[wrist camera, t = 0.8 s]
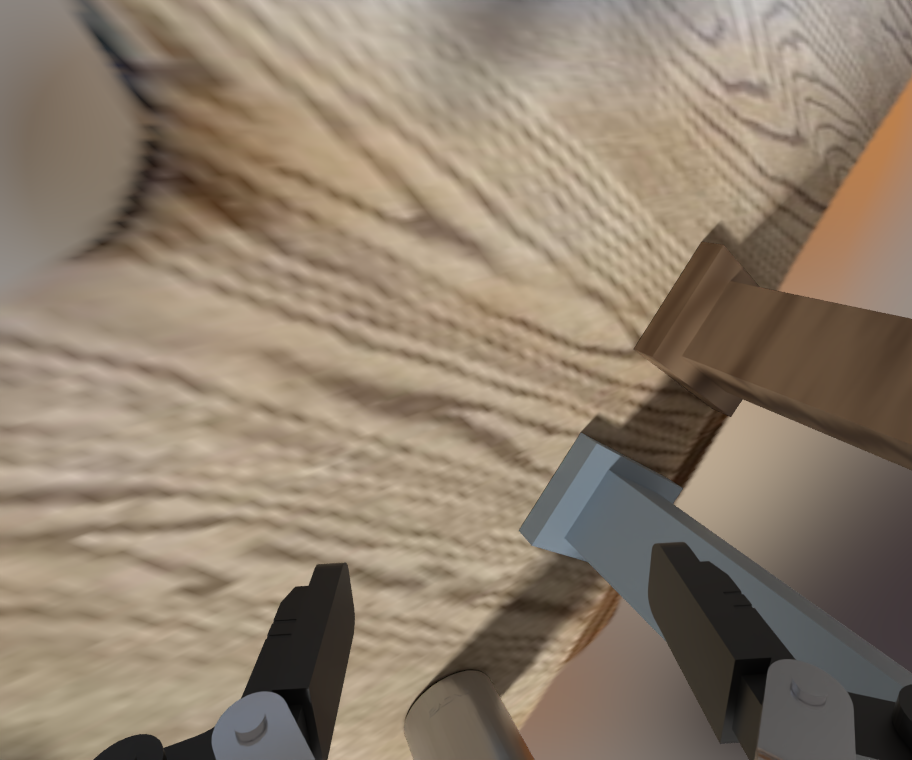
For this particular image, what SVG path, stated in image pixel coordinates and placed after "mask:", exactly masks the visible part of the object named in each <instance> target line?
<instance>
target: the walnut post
mask: <svg viewBox="0 0 912 760" xmlns="http://www.w3.org/2000/svg"><path fill="white" fill-rule="evenodd" d="M634 350H635V351H637V352H638V353H639V354H641V355H642V356H643V357H645V358H646V359H647V360H649V361H650V362H651V363H653V364H654V365H655V366H657V367H658V368H659V369H661V370H662V371H663V372H665V373H666V374H667V375H669V376H670V377H671V378H673V379H674V380H675V381H677V382H678V383H679V384H681V385H682V386H683V387H685V388H686V389H687V390H689V391H690V392H691V393H693V394H694V395H695V396H697V397H698V398H699V399H700V400H702V401H703V402H704V403H706V404H707V405H708V406H710V407H711V408H712V409H715V410H717V411H719V412H721V413H723V414H725V415H727V416H730V417H731V416H732V414H733V413H734V411H735V410H736V409H737V407H738V406H739V404H740V403H741V401H742V400H743V399H744V400H746V401H749V402H751V403H753V404H755V405H758V406H760V407H763V408H765V409H767V410H770V411H772V412H775V413H777V414H779V415H782V416H784V417H786V418H789V419H791V420H794V421H796V422H798V423H801V424H803V425H805V426H808V427H810V428H812V429H815V430H817V431H820V432H822V433H824V434H827V435H829V436H831V437H834V438H836V439H838V440H841V441H843V442H846V443H848V444H850V445H853V446H855V447H857V448H860V449H862V450H864V451H867V452H869V453H872V454H874V455H876V456H879V457H881V458H883V459H886V460H888V461H891V462H893V463H896V464H898V465H900V466H902V467H905V468H907V469H909V470H912V319H910V318H905V317H900V316H896V315H890V314H886V313H881V312H876V311H871V310H867V309H862V308H857V307H852V306H847V305H842V304H838V303H833V302H828V301H823V300H819V299H814V298H809V297H804V296H799V295H794V294H789V293H785V292H780V291H775V290H770V289H766V288H761V287H759V286H758V284H757V283H756V282H755V281H754V280H753V279H752V277H751V276H750V275H749V274H748V273H747V272H746V270H745V269H744V268H743V267H742V266H741V264H740V263H739V262H738V261H737V260H736V259H735V257H734V256H733V255H732V254H731V253H730V251H729V250H728V249H727V248H726V247H725V246H724V245H721V244H714V243H707V242H701V244H700V246H699V247H698V249H697V250H696V252H695V253H694V255H693V257H692V258H691V260H690V261H689V263H688V264H687V266H686V268H685V269H684V271H683V272H682V274H681V276H680V277H679V279H678V280H677V282H676V283H675V285H674V287H673V288H672V290H671V291H670V293H669V294H668V296H667V298H666V299H665V301H664V302H663V304H662V306H661V307H660V309H659V310H658V312H657V313H656V315H655V317H654V318H653V320H652V321H651V323H650V324H649V326H648V328H647V329H646V331H645V332H644V334H643V336H642V337H641V339H640V340H639V342H638V343H637V345H636V347H635V348H634Z"/></svg>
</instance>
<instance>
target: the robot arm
mask: <svg viewBox="0 0 912 760" xmlns="http://www.w3.org/2000/svg"><path fill="white" fill-rule="evenodd" d="M648 600H649V605H650V609H651V612H652V615H653V617H654V619H655V621H656V623H657V625H658V627H659V628H660V630H661V632H662V634H663V636H664V638H665V640H666V642H667V644H668V646H669V647H670V649H671V651H672V653H673V655H674V657H675V659H676V661H677V663H678V665H679V666H680V668H681V670H682V672H683V674H684V676H685V678H686V680H687V681H688V684H689V686H690V687H691V689H692V691H693V693H694V695H695V697H696V699H697V700H698V703H699V705H700V706H701V708H702V710H703V712H704V714H705V716H706V718H707V720H708V722H709V723H710V725H711V727H712V729H713V731H714V733H715V735H716V737H717V739H718V740H719V742H720V744H724V743H740V744H741V746H742V748H743V750H744V751H745V753H746V755H747V757H748V759H749V760H912V684H910V685H907V686H905V687H903V688H902V689H901V690H900V692H899V694H898V697H897V700H896V702H893V701H888V700H883V699H879V698H874V697H869V696H865V695H860V694H855V693H851V692H847V691H846V690H845V689H844V687H843V686H842V685H841V684H840V683H839V682H838V681H837V680H836V679H835V678H833V677H832V676H831V675H829V674H828V673H826V672H825V671H823V670H822V669H820V668H818V667H816V666H814V665H811V664H809V663H806V662H803V661H799V660H796V659H795V658H794V657H793V655H792V654H791V653H790V652H789V650H788V649H787V648H786V647H785V645H784V644H783V643H782V642H781V640H780V639H779V638H778V637H777V635H776V634H775V633H774V632H773V630H772V629H771V628H770V627H769V625H768V624H767V623H766V622H765V620H764V619H763V618H762V616H761V615H760V614H759V613H758V611H757V610H756V609H755V608H753V607H752V604H751V603H750V601H749V600H748V599H747V598H746V596H745V595H744V594H742V593H741V590H740V589H739V588H738V586H737V585H736V584H735V582H734V581H733V580H732V579H731V577H730V576H729V575H728V574H727V573H725V572H724V571H722V570H721V569H720V568H718V567H717V566H715V565H714V564H713V563H711V562H710V561H701V562H700V561H699V559H698V558H697V557H696V555H695V554H694V552H693V551H692V550H691V548H690V547H689V546H688V545H687V544H686V543H685V542H671V543H655V544H654V545H653V547H652V551H651V562H650V572H649V582H648ZM354 625H355V613H354V604H353V597H352V590H351V583H350V576H349V570H348V565H347V563H331V564H318V565H316V567H315V569H314V572H313V575H312V578H311V581H310V583H309V586H299V587H295V588H294V589H293V590H292V591H291V592H290V593H289V594H288V595H287V596H286V597H285V599H284V600H283V601H282V602H281V603H280V606H279V608H278V611H277V613H276V616H275V618H274V623H273V624H272V625H271V628H270V630H269V632H268V635H267V639H266V640H265V642H264V645H263V647H262V649H261V652H260V654H259V657H258V659H257V662H256V664H255V666H254V669H253V671H252V674H251V676H250V678H249V681H248V683H247V686H246V688H245V691H244V693H243V695H242V697H241V699H240V700H238V701H237V702H235V703H234V704H233V705H231V706H230V707H229V708H228V709H227V710H226V711H225V712H224V713H223V714H222V716H221V717H220V718H219V720H218V722H217V724H216V725H215V727H213V728H212V729H210V730H208V731H206V732H205V733H202V734H200V735H198V736H195V737H193V738H190V739H187V740H184V741H182V742H179V743H176V744H173V745H171V746H168V747H165V748H163V746H162V743H161V742H160V740H159V739H157V738H156V737H154V736H152V735H147V734H139V735H134V736H131V737H128V738H125V739H123V740H120V741H118V742H117V743H115V744H113V745H111V746H110V747H108V748H107V749H106V750H104V751H103V752H102V753H100V754H99V755H98V756H97V757H96V758H95V759H94V760H327V759H328V755H329V750H330V745H331V740H332V735H333V731H334V726H335V721H336V716H337V712H338V707H339V702H340V697H341V692H342V688H343V683H344V678H345V673H346V668H347V664H348V659H349V654H350V649H351V645H352V640H353V635H354ZM404 734H405V737H406V740H407V743H408V746H409V748H410V751H411V754H412V757H413V760H535V759H534V757H533V756H532V754H531V752H530V750H529V748H528V747H527V745H526V743H525V741H524V739H523V738H522V736H521V734H520V732H519V730H518V729H517V727H516V725H515V723H514V722H513V720H512V718H511V716H510V714H509V712H508V711H507V709H506V707H505V705H504V703H503V702H502V700H501V698H500V696H499V695H498V693H497V691H496V689H495V688H494V686H493V684H492V682H491V680H490V679H489V677H488V676H487V675H485V674H484V673H483V672H479V671H463V672H459V673H456V674H453V675H450V676H448V677H446V678H444V679H442V680H440V681H439V682H437V683H436V684H434V685H433V686H431V687H430V688H429V689H428V690H427V691H426V692H424V693H423V694H422V695H421V696H420V698H419V699H418V700H417V701H416V702H415V703H414V705H413V706H412V708H411V709H410V711H409V713H408V715H407V717H406V720H405V724H404Z"/></svg>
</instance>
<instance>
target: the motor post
mask: <svg viewBox="0 0 912 760" xmlns="http://www.w3.org/2000/svg"><path fill="white" fill-rule="evenodd" d="M682 489H683V488H682V487H680V486H679V485H677V484H676V483H674V482H673V481H671V480H669V479H668V478H666V477H664V476H663V475H661V474H659V473H657V472H655V471H653V470H651V469H649V468H647V467H646V466H644V465H642V464H640V463H638V462H636V461H634V460H632V459H630V458H628V457H627V456H625V455H623V454H621V453H619V452H617V451H615V450H613V449H611V448H609V447H608V446H606V445H604V444H602V443H600V442H598V441H596V440H594V439H592V438H591V437H589V436H587V435H585V434H583V433H580V435H579V437H578V438H577V440H576V441H575V443H574V444H573V446H572V448H571V449H570V451H569V452H568V454H567V456H566V457H565V459H564V460H563V462H562V463H561V465H560V467H559V468H558V470H557V471H556V473H555V474H554V476H553V478H552V479H551V481H550V482H549V484H548V486H547V487H546V489H545V490H544V492H543V493H542V495H541V497H540V498H539V500H538V501H537V503H536V504H535V506H534V508H533V509H532V511H531V512H530V514H529V516H528V517H527V519H526V520H525V522H524V523H523V525H522V527H521V528H520V530H519V531H520V533H521V534H522V535H523V536H524V537H525V538H526V539H527V540H528V542H529V543H530V544H531V545H532V546H535V547H539V548H542V549H546V550H549V551H552V552H556V553H559V554H563V555H566V556H569V557H573V558H576V559H580V560H583V561H586V562H588V563H589V564H590V565H591V566H592V567H593V568H594V569H595V570H596V571H597V572H598V573H599V574H600V575H601V576H602V577H603V578H604V579H605V580H606V581H607V582H608V583H609V584H610V585H611V586H612V587H613V588H614V589H615V590H616V591H617V592H618V593H619V594H620V595H621V596H622V597H623V598H624V599H625V600H626V601H627V602H628V603H629V604H630V605H631V606H632V607H633V608H634V609H635V610H636V611H637V612H638V613H639V615H640V616H641V617H643V618H644V620H645V621H646V622H647V623H648V624H649V625H650V626H651V627H652V628H653V629H654V630H655V631H656V632H657V633H658V634H659V635H660V636H661V637H662V638H663V639H664V640H665V638H664V636H663V634H662V632H661V630H660V628H659V627H658V625H657V623H656V621H655V619H654V617H653V615H652V612H651V609H650V605H649V600H648V582H649V572H650V562H651V551H652V547H653V545H654V544H655V543H671V542H685V543H686V544H687V545H688V546H689V547H690V548H691V550H692V551H693V552H694V554H695V555H696V557H697V558H698V559H699V561H700V562H701V561H710V562H711V563H713V564H714V565H715V566H717V567H718V568H720V569H721V570H722V571H724V572H725V573H727V574H728V575H729V576H730V577H731V579H732V580H733V581H734V582H735V584H736V585H737V586H738V588H739V589H740V590H741V593H742V594H744V595H745V596H746V598H747V599H748V600H749V601H750V603H751V604H752V607H753V608H755V609H756V610H757V611H758V613H759V614H760V615H761V616H762V618H763V619H764V620H765V622H766V623H767V624H768V625H769V627H770V628H771V629H772V630H773V632H774V633H775V634H776V635H777V637H778V638H779V639H780V640H781V642H782V643H783V644H784V645H785V647H786V648H787V649H788V650H789V652H790V653H791V654H792V655H793V657H794V658H795V659H796V660H799V661H803V662H806V663H809V664H811V665H814V666H816V667H818V668H820V669H822V670H823V671H825V672H826V673H828V674H829V675H831V676H832V677H833V678H835V679H836V680H837V681H838V682H839V683H840V684H841V685H842V686H843V687H844V689H845V690H846V691H847V692H851V693H855V694H860V695H865V696H869V697H874V698H879V699H883V700H888V701H893V702H896V700H897V697H898V694H899V692H900V690H901V689H902V688H903V687H905V686H907V685H910V684H912V674H911V673H910V672H909V671H907V670H906V669H905V668H903V667H902V666H900V665H899V664H898V663H896V662H895V661H893V660H892V659H891V658H889V657H888V656H886V655H885V654H884V653H882V652H881V651H879V650H878V649H877V648H875V647H874V646H872V645H871V644H869V643H868V642H867V641H865V640H864V639H862V638H861V637H859V636H858V635H857V634H855V633H854V632H853V631H851V630H850V629H848V628H847V627H845V626H844V625H842V624H841V623H840V622H838V621H837V620H835V619H834V618H833V617H831V616H830V615H829V614H827V613H826V612H824V611H823V610H822V609H820V608H819V607H817V606H816V605H814V604H813V603H811V602H810V601H809V600H807V599H806V598H805V597H803V596H802V595H800V594H799V593H798V592H796V591H795V590H793V589H792V588H791V587H789V586H788V585H786V584H785V583H783V582H782V581H781V580H779V579H778V578H776V577H775V576H774V575H772V574H771V573H769V572H768V571H767V570H765V569H764V568H762V567H761V566H760V565H758V564H757V563H755V562H754V561H752V560H751V559H750V558H748V557H747V556H745V555H744V554H743V553H741V552H740V551H738V550H737V549H736V548H734V547H733V546H731V545H730V544H728V543H727V542H726V541H724V540H723V539H721V538H720V537H719V536H717V535H716V534H714V533H713V532H712V531H710V530H709V529H707V528H706V527H705V526H703V525H701V524H700V523H699V522H697V521H696V520H694V519H693V518H692V517H690V516H689V515H688V514H686V513H685V512H683V511H682V510H681V509H679V508H678V507H676V506H675V505H674V504H673V503H674V501H675V500H676V498H677V497H678V495H679V494H680V492H681V491H682ZM665 641H666V640H665Z"/></svg>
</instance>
